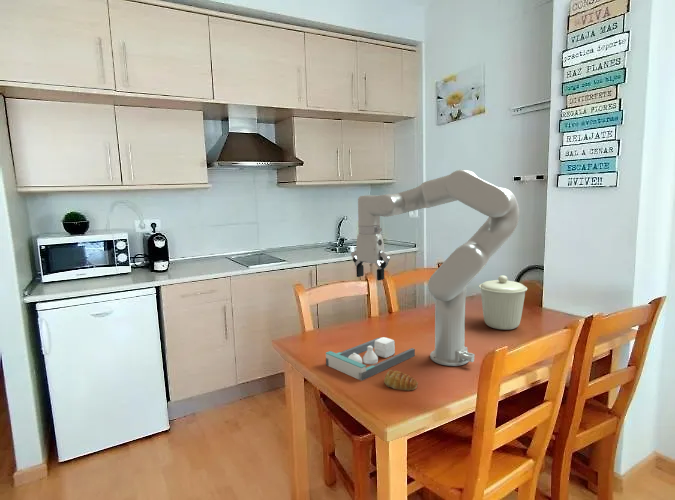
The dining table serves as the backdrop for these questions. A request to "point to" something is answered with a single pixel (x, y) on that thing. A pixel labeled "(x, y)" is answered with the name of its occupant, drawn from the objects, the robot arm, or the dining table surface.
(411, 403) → the dining table surface
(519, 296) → the canister
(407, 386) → the pastry
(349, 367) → the rail guide
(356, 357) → the container set
